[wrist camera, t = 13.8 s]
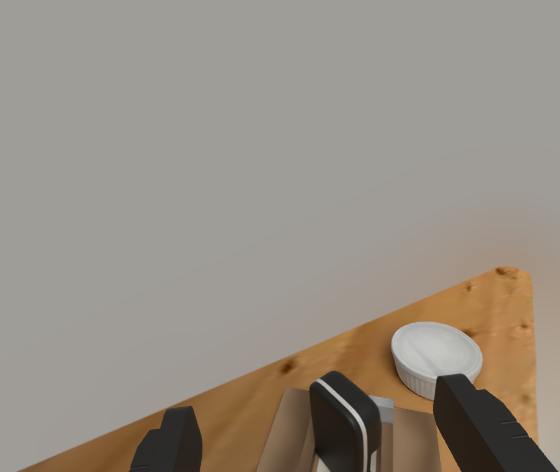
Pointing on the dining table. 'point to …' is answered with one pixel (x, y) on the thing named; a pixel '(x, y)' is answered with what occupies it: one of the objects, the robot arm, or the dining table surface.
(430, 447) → the rail board
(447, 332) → the ramekin
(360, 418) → the battery charger
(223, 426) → the dining table surface
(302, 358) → the dining table surface
